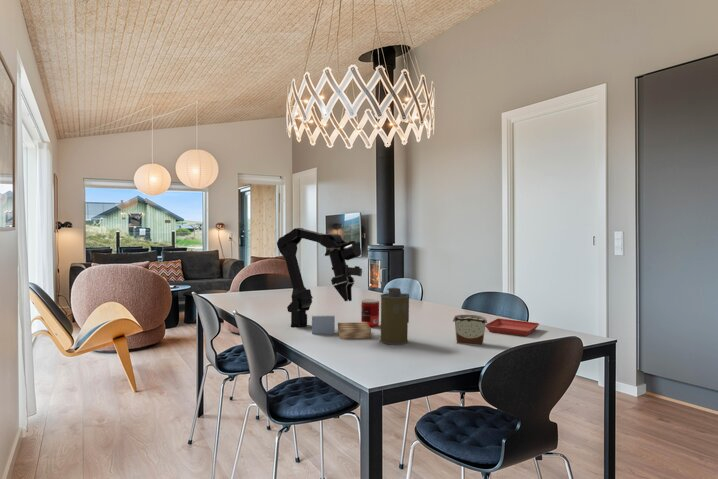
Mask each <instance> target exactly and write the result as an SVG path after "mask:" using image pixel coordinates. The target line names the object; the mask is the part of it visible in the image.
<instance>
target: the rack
mask: <svg viewBox="0 0 718 479" xmlns="http://www.w3.org/2000/svg"><path fill="white" fill-rule="evenodd" d="M337 334H338V337H339V339H341V340H343V339H344V340H345V339H371V338H372V327H370V326H369V324H367V322H360V321H359V322H337Z"/></svg>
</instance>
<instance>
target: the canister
mask: <svg viewBox="0 0 718 479" xmlns="http://www.w3.org/2000/svg"><path fill="white" fill-rule="evenodd" d="M386 290H387V291H388V293H382V294H380V340H379V341H380V342H381V343H382V344H384V345H391V346H392V345H393V346H396V345H398V346H401V345H404V344H405V345H406V344H408V343H409V340H408V333H409V332H408V326H409V323H410V322H409V320H410V319H409V318H410V317H409V316H410V315H409V314H410V294H409V293H405V292H404V293H402V291H401V288H399V287H388V288H387V289H386Z"/></svg>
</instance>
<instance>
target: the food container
mask: <svg viewBox="0 0 718 479" xmlns="http://www.w3.org/2000/svg"><path fill="white" fill-rule="evenodd" d="M452 322H454V326H455V336H456V337H455V341H456V345H457V344H458V345H459V344H460V345H471V346H482V347H483V346H484V339H485V332H486V327H485V325H486V324H488V320H487V318H486V317H485V316H482V315H478V314H477V315H476V314H459V315H458V314H456V315H454V317H453V320H452Z"/></svg>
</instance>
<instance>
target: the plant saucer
mask: <svg viewBox="0 0 718 479" xmlns="http://www.w3.org/2000/svg"><path fill="white" fill-rule="evenodd" d="M539 325H540V323H539V322H534V321H533V322H532V321H523V320H513V319H507V318H496V319H494V320H492V321H489V322H487V323H486V324H485V329H487V330H488V331H489V332H490V333H495V334H496V333H497V334H505V335H511V334H512V335H511V336H520V337H527V336H528V335H530V334H532V332H534V331H535V330H536V329H537V328H538V326H539Z"/></svg>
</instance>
